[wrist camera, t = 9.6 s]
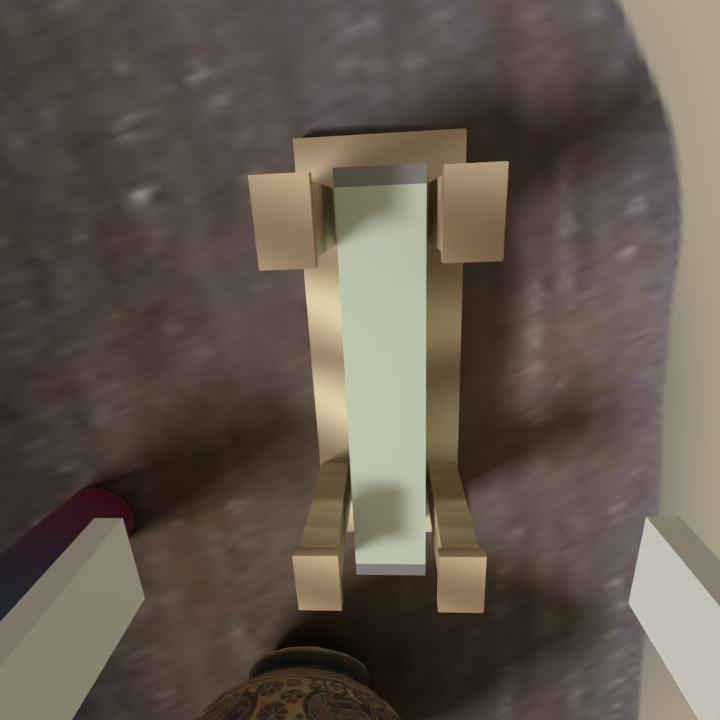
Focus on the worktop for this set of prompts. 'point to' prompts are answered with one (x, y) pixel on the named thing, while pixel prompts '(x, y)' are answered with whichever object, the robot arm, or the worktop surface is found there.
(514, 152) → the worktop surface
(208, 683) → the worktop surface
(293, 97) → the worktop surface
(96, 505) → the cup
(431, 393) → the bar on post stand
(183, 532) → the worktop surface
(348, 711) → the ceramic bowl
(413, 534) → the rail
